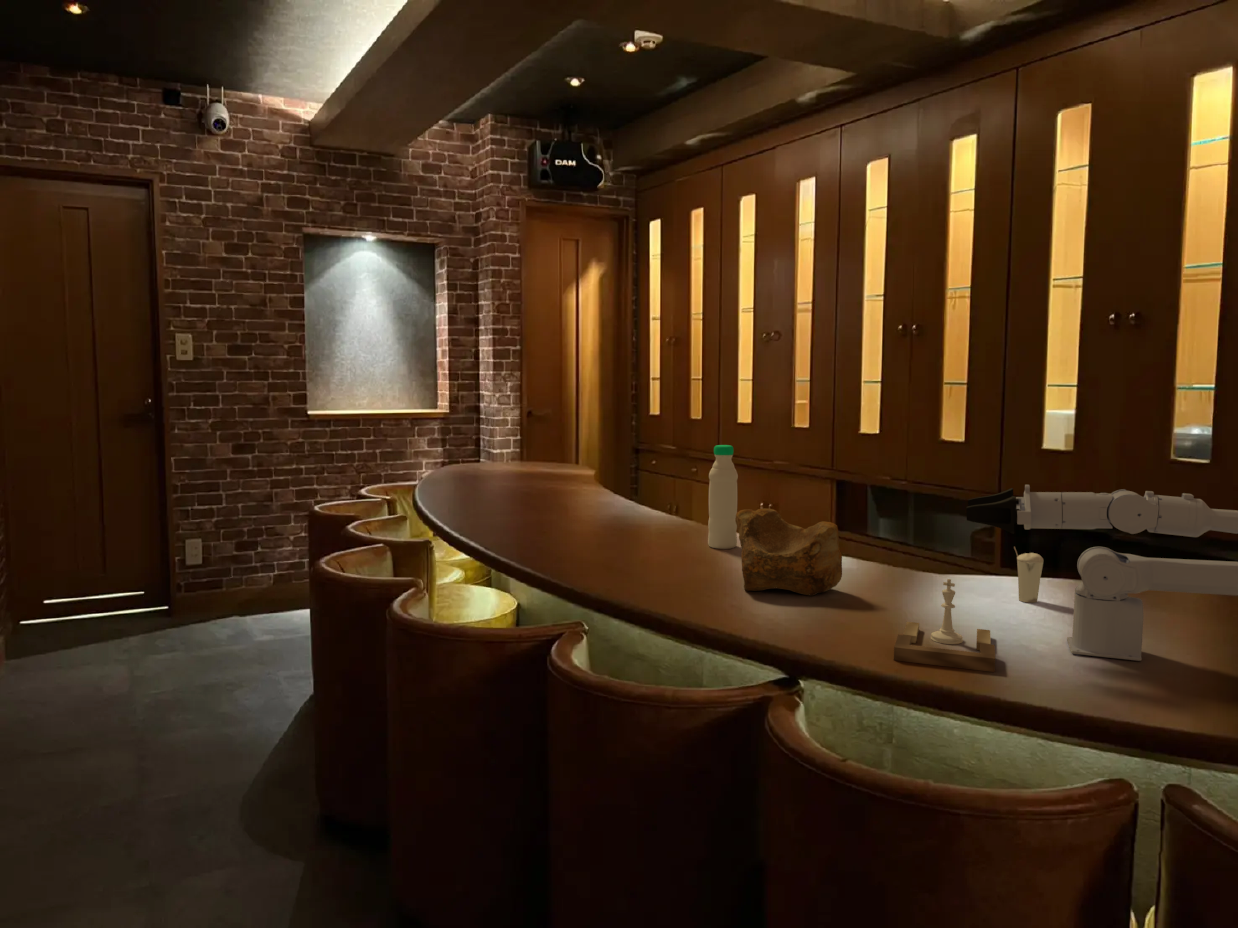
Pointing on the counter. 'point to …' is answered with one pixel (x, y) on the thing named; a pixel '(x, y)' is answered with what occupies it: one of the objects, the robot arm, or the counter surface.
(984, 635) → the pocket channel
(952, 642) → the chess piece
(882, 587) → the counter surface
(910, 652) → the stop rail
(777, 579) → the rough brown rock
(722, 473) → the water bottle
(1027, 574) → the milkshake
